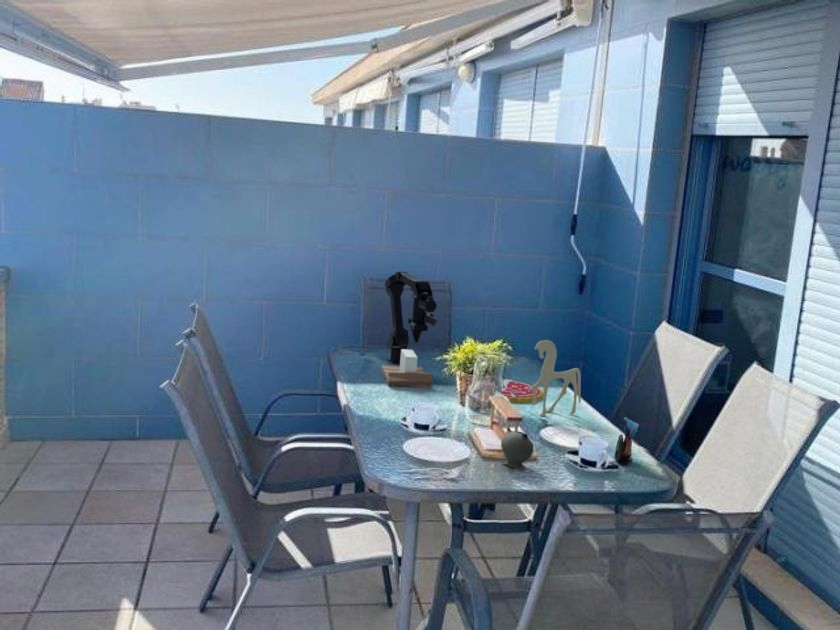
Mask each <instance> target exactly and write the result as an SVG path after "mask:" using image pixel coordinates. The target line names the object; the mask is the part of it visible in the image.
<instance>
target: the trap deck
mask: <svg viewBox="0 0 840 630" xmlns="http://www.w3.org/2000/svg"><path fill="white" fill-rule="evenodd" d="M380 370H381V372H382V375H383V378H384V377H385V378H384V380H385V382H386V384H387V386H388V387H393V386H396V388H397V387H398V388H422V389H423V388H425V389H427V388H428V389H431V388H432V382H433V381H432V380H433V373H429V372H426V371H425V370H424V368H423V367H422V366H418V365H417V370H416V373H408V372H399V370H400V365H392V364H391V365H389V364H381V369H380Z"/></svg>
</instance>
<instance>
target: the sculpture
mask: <svg viewBox="0 0 840 630" xmlns="http://www.w3.org/2000/svg"><path fill="white" fill-rule="evenodd" d="M534 350H538V355H539V358H540V359H541V360H543V359H544V360H543V363H542V367H541V371H540V372H541V373H540V377H539V379H538V380H537V382H535V383H534V384H533V385H532V391H533V402H531V403H532V406H535V405H537V404H538V401H537V397H536V388H540V387H541V386H542V388H543V390H542V391H543V397H542V407H543V408H542V412H541V413H540V414H539V416H540V417H545V416H546V414H547V413H552V412H553V411H554V410H555V407H556V405H557V404H558V402H559V401H560V400H561V399H562V397H564V396H565V395H566V394H567V390H568V387H569V385H570V383H571V384H572V387H573V404H572V408H571V410H570V412H569V414H570V415H574V414H575V413H576V408H577V407H576V406H577V398H578V404H581V402H582V401H581V400H582V399H581V387H582V385H581V383H582V381H581V380H582V373H581V369H580V368H578V367H574V368H571V369H569V370H568V369H567V370H564V371H555V366H556V361H557V357H558V353H557V351H558V350H557V347H556V345H555V343H554V342H553V341H551V340H548V339H544V340H543V339H542V340H540V341H538V342H537V343H536V345H535V347H534ZM544 352H545V356H544ZM554 379H555V380H556V379H562V380H563V385H562V389H561V391H560V393H559V394H558V395H559V396H558V397H557V398H556V400H555V401H554V402H553V403H552V405H551V406H550V407H549V408H548V409H547V408H546V404H547V403H546V400H547V396H548V395H547V394H548V389H549V385H550V382H551V381H553V380H554Z"/></svg>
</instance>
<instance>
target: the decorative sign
mask: <svg viewBox="0 0 840 630" xmlns="http://www.w3.org/2000/svg"><path fill="white" fill-rule="evenodd" d="M502 380H503V387H502V390H501V394H502V395H504V396H506V397H507V398H508V399H509V401H510V402H512V404H513V403H516V404H522V403H523V404H528V403H533V391H532V386H533V385H531V384H529V383H524V382H523V381H515V380H513V379H506V378H505V379H502ZM536 397H537V402H539V401H540V400H539V399H541V400H543V390H542V389H540V387H537V388H536Z"/></svg>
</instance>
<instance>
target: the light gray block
mask: <svg viewBox="0 0 840 630" xmlns="http://www.w3.org/2000/svg"><path fill="white" fill-rule="evenodd" d="M399 366H400V370H399V372H408V373H416V370H417V366H418V356H417V354H416V353H415V351H414V350H413V349H408V348H407V349H401V357H400V362H399Z"/></svg>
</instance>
